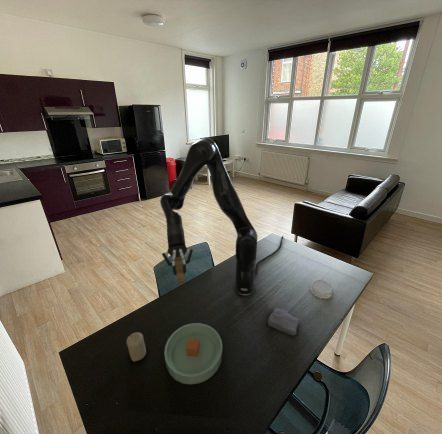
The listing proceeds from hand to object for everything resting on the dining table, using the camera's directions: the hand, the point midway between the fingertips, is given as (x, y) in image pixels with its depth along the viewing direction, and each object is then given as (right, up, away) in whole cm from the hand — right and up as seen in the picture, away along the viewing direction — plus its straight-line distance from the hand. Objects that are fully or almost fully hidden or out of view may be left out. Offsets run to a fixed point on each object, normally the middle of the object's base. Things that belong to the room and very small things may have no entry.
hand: (180, 274), depth 101 cm
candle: (-13, -27, -14) cm, 32 cm away
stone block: (+44, -21, -1) cm, 49 cm away
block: (+8, -25, -13) cm, 30 cm away
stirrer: (0, -4, +4) cm, 6 cm away
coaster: (+66, -13, +16) cm, 69 cm away
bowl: (+8, -27, -14) cm, 31 cm away
